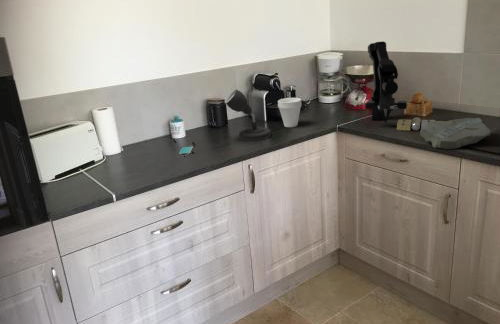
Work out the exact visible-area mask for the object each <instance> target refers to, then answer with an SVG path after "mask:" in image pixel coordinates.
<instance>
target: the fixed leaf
mask: <svg viewBox="0 0 500 324" xmlns="http://www.w3.org/2000/svg"><path fill="white" fill-rule="evenodd" d="M415 119H418V120H419V121H420V123H419V122H418V121H415V122H413V120H415ZM433 121H436V120H435V119H421V118H420V117H414V118H413V119H412V122H413V123H412V122H411V129H412V130H413V131H414V132H415V131H416V132H417V131H419V130H421V129H422V128H424V127H425V126H426V124H427V123H430V122H433Z"/></svg>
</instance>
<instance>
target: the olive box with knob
mask: <svg viewBox="0 0 500 324" xmlns="http://www.w3.org/2000/svg"><path fill="white" fill-rule="evenodd" d="M415 121H418V122H419V123H420V121H419V120H418V119H415V120H413V119H398V120H397V124H396V131H411V129H412V123H413V122H415ZM420 124H421V123H420Z"/></svg>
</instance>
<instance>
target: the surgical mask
mask: <svg viewBox="0 0 500 324" xmlns="http://www.w3.org/2000/svg"><path fill="white" fill-rule="evenodd" d="M172 141H173V142H174V143H175V144H177V141H176V139H173V140H172ZM191 144H192V145H193V146H183V147H182V148H180V151H179V153H178V155H180V156H182V157H184V158H186V157H185V156H188V155H189V154H191V153H192V154H193V155H194V154H195V152H194V151H192V150H193V148H194V146H196V144H195V142H194V141H192V142H191Z"/></svg>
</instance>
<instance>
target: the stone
mask: <svg viewBox="0 0 500 324" xmlns="http://www.w3.org/2000/svg"><path fill="white" fill-rule="evenodd" d="M491 133H492V131H491V129H489V127H487V126H486V124H485V123H483V120H482V119H481V118H480V117H465V118H457V119H456V118H455V119H450V120H447V121H445V120H435V121H433V122H430V123H427V124H426V126H425V127H424V128H422V129H421V128H420V133H419V135H420V137H422V138H423V139H424V140H425V141H426V142H431V145H432V146H431V147H432V148H435V149H438V148H439V149H445V150H451V149H453V150H454V149H458V148H459V149H460V148H461V147H465V146H467V145H471V144H473V143H475V144H477V143H478V142H480V141H481V140H483V139H484V138H486V137H491Z"/></svg>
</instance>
